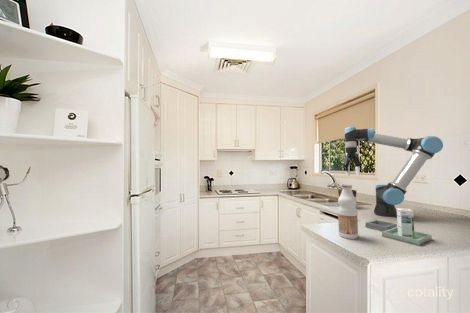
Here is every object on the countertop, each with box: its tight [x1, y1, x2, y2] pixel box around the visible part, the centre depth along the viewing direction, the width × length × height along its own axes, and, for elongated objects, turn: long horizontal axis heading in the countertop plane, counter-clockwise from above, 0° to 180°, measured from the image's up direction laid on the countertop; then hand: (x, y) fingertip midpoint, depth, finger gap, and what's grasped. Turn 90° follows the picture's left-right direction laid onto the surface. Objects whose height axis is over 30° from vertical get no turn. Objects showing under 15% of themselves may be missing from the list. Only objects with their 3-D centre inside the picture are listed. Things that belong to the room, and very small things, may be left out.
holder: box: [365, 219, 398, 232], centre depth 132 cm, size 12×12×3 cm
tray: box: [381, 226, 433, 246], centre depth 114 cm, size 16×16×2 cm
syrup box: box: [396, 207, 415, 238], centre depth 115 cm, size 6×6×14 cm
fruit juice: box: [337, 184, 359, 240], centre depth 119 cm, size 9×9×28 cm
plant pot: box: [337, 188, 357, 199], centre depth 193 cm, size 15×15×16 cm
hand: (352, 175), depth 163 cm, fingers open, 13 cm apart
